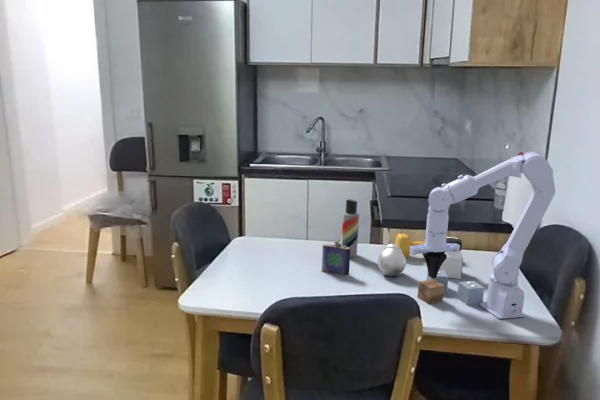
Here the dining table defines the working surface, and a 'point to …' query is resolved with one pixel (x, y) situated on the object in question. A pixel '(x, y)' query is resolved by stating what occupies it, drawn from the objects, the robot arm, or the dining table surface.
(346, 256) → the flask
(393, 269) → the silver round ornament
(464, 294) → the dotted block
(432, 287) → the walnut block
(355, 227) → the lotion bottle
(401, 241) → the dumbbell
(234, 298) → the dining table surface
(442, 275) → the dotted block
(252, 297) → the dining table surface
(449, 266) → the medicine bottle
